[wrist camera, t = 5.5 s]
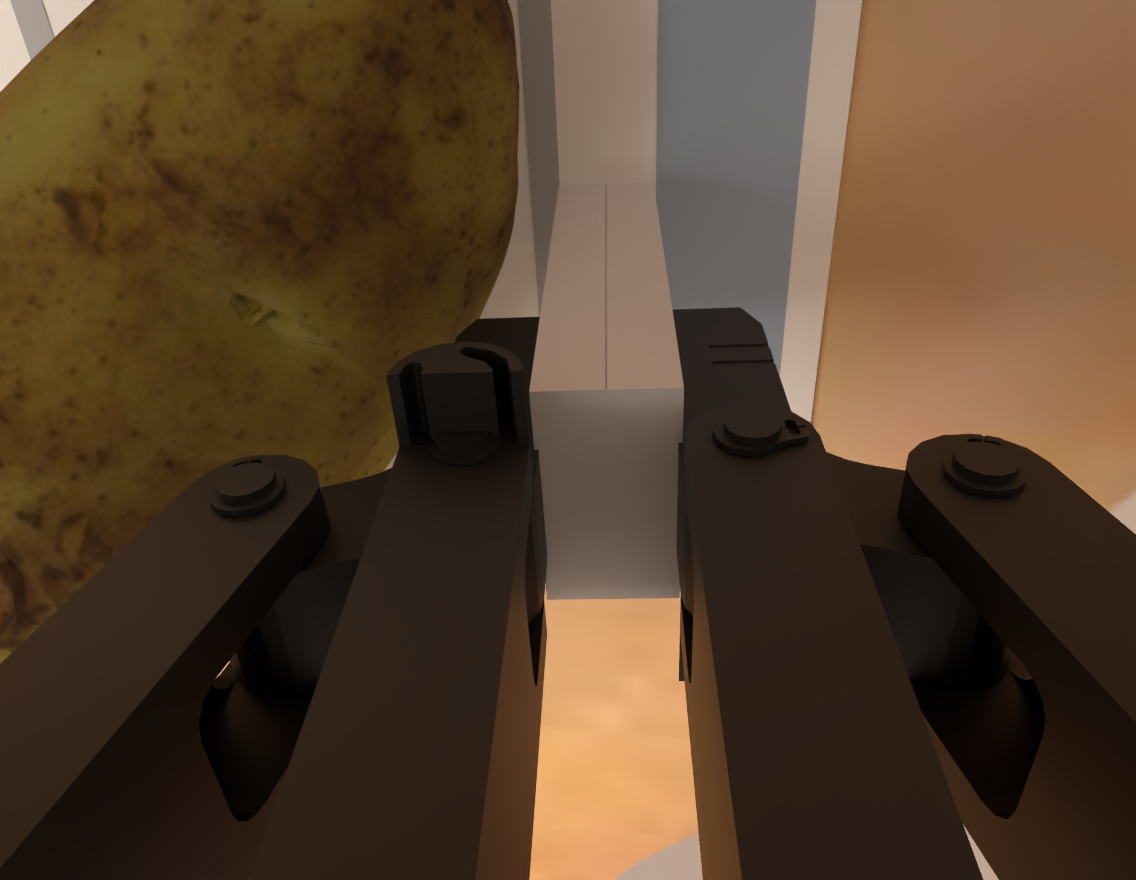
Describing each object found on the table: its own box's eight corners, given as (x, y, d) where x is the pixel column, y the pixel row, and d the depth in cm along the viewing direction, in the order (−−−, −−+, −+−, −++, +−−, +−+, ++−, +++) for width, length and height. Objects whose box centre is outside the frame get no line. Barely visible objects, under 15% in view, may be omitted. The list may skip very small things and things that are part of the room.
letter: (-331, -607, 11) (-348, -616, 10) (945, -715, 10) (952, -726, 10) (131, 551, 20) (126, 557, 20) (793, 545, 20) (795, 551, 19)
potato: (697, 267, 16) (762, 561, 9) (189, 550, 20) (-22, 896, 13) (413, -217, 12) (178, -318, 6) (-138, 250, 16) (-657, 517, 10)
